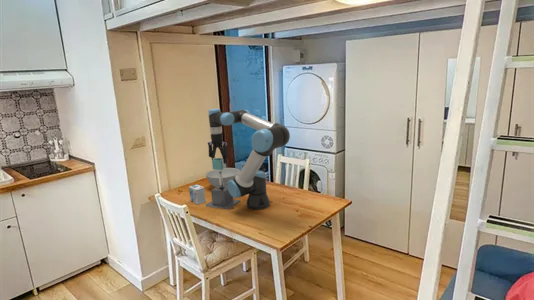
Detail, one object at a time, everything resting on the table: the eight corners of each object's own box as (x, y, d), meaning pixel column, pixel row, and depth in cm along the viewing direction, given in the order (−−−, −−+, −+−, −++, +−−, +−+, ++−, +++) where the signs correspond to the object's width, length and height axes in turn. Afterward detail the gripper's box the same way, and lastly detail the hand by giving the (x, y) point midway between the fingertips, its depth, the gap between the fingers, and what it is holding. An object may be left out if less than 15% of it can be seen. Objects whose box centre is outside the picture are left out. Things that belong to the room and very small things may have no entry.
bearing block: (240, 201, 225) (238, 186, 223) (229, 209, 213) (227, 193, 211) (217, 199, 233) (216, 183, 231) (206, 206, 221) (204, 190, 218)
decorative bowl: (203, 186, 264) (201, 171, 261) (235, 180, 274) (233, 166, 272) (212, 196, 240) (211, 180, 237) (247, 189, 250) (245, 173, 248)
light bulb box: (190, 201, 233) (188, 186, 230) (198, 198, 237) (197, 184, 234) (197, 204, 225) (195, 189, 222) (206, 202, 229) (204, 187, 226)
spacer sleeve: (226, 167, 219) (225, 158, 218) (221, 169, 213) (220, 160, 212) (218, 166, 222) (217, 157, 221) (212, 169, 216) (211, 160, 215)
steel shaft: (224, 194, 222) (222, 171, 219) (222, 195, 220) (220, 172, 216) (221, 193, 223) (219, 170, 220) (219, 195, 221) (217, 171, 218)
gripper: (200, 133, 213) (204, 168, 218) (226, 134, 205) (229, 170, 210) (207, 131, 220) (210, 165, 225) (232, 132, 212) (235, 167, 217)
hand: (219, 167), depth 218 cm, fingers closed on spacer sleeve, 6 cm apart
